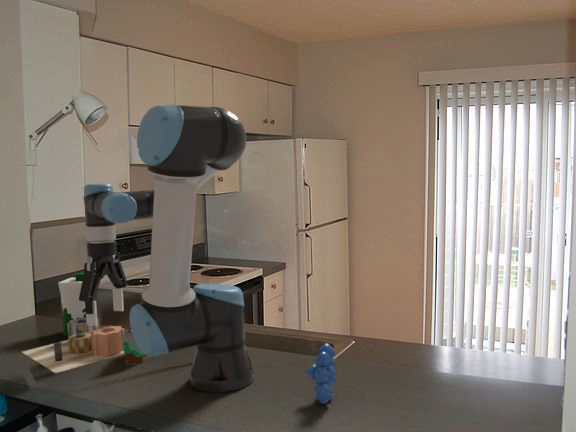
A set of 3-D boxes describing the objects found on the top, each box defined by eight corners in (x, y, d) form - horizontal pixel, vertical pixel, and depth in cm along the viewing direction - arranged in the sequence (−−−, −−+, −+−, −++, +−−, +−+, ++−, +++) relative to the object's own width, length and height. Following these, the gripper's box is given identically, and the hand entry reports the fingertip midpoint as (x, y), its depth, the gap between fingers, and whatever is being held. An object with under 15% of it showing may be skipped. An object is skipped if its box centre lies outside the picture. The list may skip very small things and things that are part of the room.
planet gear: (128, 352, 151) (127, 330, 150) (96, 359, 146) (95, 336, 146) (119, 344, 158) (118, 323, 157) (89, 350, 153) (88, 329, 153)
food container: (148, 372, 140) (145, 333, 139) (124, 372, 140) (121, 334, 139) (160, 355, 152) (158, 319, 151) (138, 355, 152) (136, 320, 151)
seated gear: (105, 339, 162) (104, 319, 162) (79, 347, 156) (78, 326, 155) (89, 334, 168) (88, 315, 167) (63, 342, 161) (62, 322, 160)
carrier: (142, 353, 154) (141, 332, 153) (56, 379, 137) (54, 355, 136) (102, 336, 171) (101, 316, 170) (21, 357, 154) (19, 335, 154)
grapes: (313, 386, 127) (311, 336, 126) (342, 389, 125) (341, 337, 124) (300, 408, 116) (298, 353, 115) (332, 411, 114) (330, 355, 113)
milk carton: (86, 341, 166) (82, 276, 164) (58, 341, 167) (53, 276, 165) (100, 332, 175) (96, 270, 173) (73, 332, 176) (69, 270, 174)
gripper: (113, 234, 162) (117, 304, 164) (60, 248, 138) (66, 331, 140) (136, 234, 160) (140, 305, 163) (87, 249, 136) (92, 332, 138)
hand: (106, 317), depth 151 cm, fingers open, 13 cm apart
